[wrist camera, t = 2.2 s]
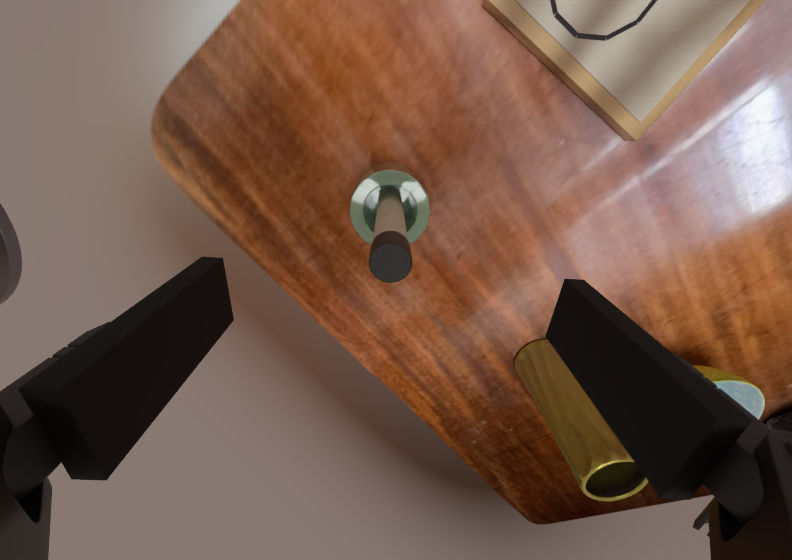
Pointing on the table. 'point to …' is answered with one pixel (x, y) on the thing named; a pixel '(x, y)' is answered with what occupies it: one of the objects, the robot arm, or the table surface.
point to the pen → (390, 239)
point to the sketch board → (624, 48)
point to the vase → (578, 426)
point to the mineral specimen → (781, 422)
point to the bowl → (736, 389)
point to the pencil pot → (368, 194)
